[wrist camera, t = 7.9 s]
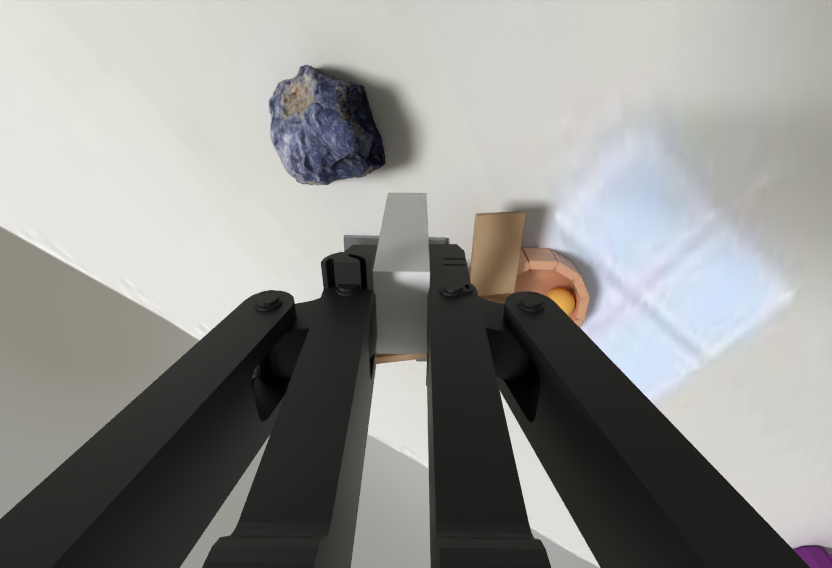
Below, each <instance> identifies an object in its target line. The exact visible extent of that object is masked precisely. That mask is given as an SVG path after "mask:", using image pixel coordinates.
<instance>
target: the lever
mask: <svg viewBox="0 0 832 568" xmlns="http://www.w3.org/2000/svg"><path fill="white" fill-rule="evenodd" d="M525 217H526V213H525V212H524V211H518V212H498V213H479V214H476V215H475V225H474V236H473V247H472V257H471V268H470V282H471V284H472V285H474V286H475V288H476V289H477V292H478V296H480V297H481V298H483V299H486V300H488V301H492V302H497V303H502V304H505V301H506V298H507V297H508V296H509V295H511V294H510V293H514V289H515V283H516V276H517V269H518V263H519V256H520V250H521V243H522V237H523V230H524V223H525ZM375 356H376V364H380V363H388V362H397V361H406V360H414V359H423V358H427V354H377V351H376V349H375Z"/></svg>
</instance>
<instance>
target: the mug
mask: <svg viewBox="0 0 832 568" xmlns="http://www.w3.org/2000/svg"><path fill="white" fill-rule="evenodd" d="M793 550H794V551H795V552H796V553H797V554H798V555H799V556H800V557H801V558H802V559H803V560H804V561H805V563H806V564H807V565H808V566H809V567H810V568H832V555H831V554H828V553H827V552H826V551H825V550H823V549H822V548H820V547H818V546H804V547H799V548H796V549H793Z"/></svg>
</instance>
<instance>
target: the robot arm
mask: <svg viewBox="0 0 832 568" xmlns="http://www.w3.org/2000/svg"><path fill="white" fill-rule="evenodd" d="M321 268H322V277H323V286H324V290H323V293H322V296H321V298H319V299H316V300H313V301H308V302H303V303H297V304H295V303H294V298H293V296H292V295H291V294H289V293H287V292H283V291H274V290H269V291H263V292H260V293H258V294H255V295H252V296H251V297H249V298H248V299H246V300H245V301H244V302H243V303H241V304H240V305H239V306H238V307H237V308H236V309H235V310H234V311H232V312H231V313H230V314H229V315H228V316H227V317H226V318H225V319H224V320H222V321H221V322H220V323H219V324H218V325H217V326H216V327H215V328H213V329H212V330H211V331H210V332H209V333H208V334H207V335H206V336H205V337H203V338H202V339H201V340H200V341H199V342H198V343H197V344H196V345H194V346H193V347H192V348H191V349H190V350H189V351H188V352H187V353H186V354H184V355H183V356H182V357H181V358H180V359H179V360H178V361H177V362H175V363H174V364H173V365H172V366H171V367H170V368H169V369H168V370H167V371H165V372H164V373H163V374H162V375H161V376H160V377H159V378H158V379H157V380H155V381H154V382H153V383H152V384H151V385H150V386H149V387H148V388H146V389H145V390H144V391H143V392H142V393H141V394H140V395H139V396H138V397H136V398H135V399H134V400H133V401H132V402H131V403H130V404H129V405H127V406H126V407H125V408H124V409H123V410H122V411H121V412H120V413H119V414H117V415H116V416H115V417H114V418H113V419H112V420H111V421H110V422H108V423H107V424H106V425H105V426H104V427H103V428H102V429H101V430H99V431H98V432H97V433H96V434H95V435H94V436H93V437H92V438H90V439H89V440H88V441H87V442H86V443H85V444H84V445H83V446H82V447H81V448H79V449H78V450H77V451H76V452H75V453H74V454H73V455H72V456H70V457H69V458H68V459H67V460H66V461H65V462H64V463H63V464H61V465H60V466H59V467H58V468H57V469H56V470H55V471H54V472H52V473H51V474H50V475H49V476H48V477H47V478H46V479H45V480H44V481H43V482H41V483H40V484H39V485H38V486H37V487H36V488H35V489H33V490H32V491H31V492H30V493H29V494H28V495H27V496H26V497H25V498H23V499H22V500H21V501H20V502H19V503H18V504H17V505H16V506H15V507H13V508H12V509H11V510H10V511H9V512H8V513H7V514H6V515H4V516H3V517H2V518H1V519H0V568H180V566H181V565H182V563H183V562H184V560H185V559H186V557H187V556H188V554H189V553H190V552H191V550H192V549H193V547H194V546H195V544H196V543H197V541H198V540H199V538H200V537H201V535H202V534H203V532H204V531H205V529H206V528H207V526H208V525H209V524H210V522H211V521H212V519H213V517H214V516H215V515H216V513H217V512H218V510H219V509H220V507H221V506H222V504H223V503H224V501H225V500H226V499H227V497H228V496H229V494H230V492H231V491H232V490H233V488H234V487H235V485H236V484H237V482H238V481H239V479H240V478H241V476H242V475H243V473H244V472H245V471H246V469H247V467H248V466H249V465H250V463H251V462H252V460H253V459H254V457H255V456H256V454H257V453H258V451H259V450H260V448H261V447H262V446H263V444H264V442H265V441H266V439H267V438H268V437H269V435H270V437H269V440H268V443H267V445H266V448H265V451H264V454H263V456H262V459H261V462H260V465H259V467H258V470H257V473H256V475H255V478H254V481H253V484H252V486H251V489H250V492H249V494H248V497H247V500H246V503H245V505H244V508H243V511H242V513H241V517H240V519H239V522H238V524H237V526H236V528H235V530H234V532H233V533H232V534H231V535H230V536H226V537H220V538H219V539H218V541H217V542H216V543H215V544H214V545H213V546H212V548H211V550H210V552H209V554H208V556H207V558H206V560H205V562H204V565H203V567H202V568H350V567H351V560H352V552H353V544H354V536H355V528H356V519H357V512H358V503H359V496H360V488H361V479H362V472H363V464H364V456H365V448H366V440H367V432H368V424H369V416H370V408H371V400H372V393H373V385H374V377H375V369H376V356H375V349H376V351H377V354H427V376H426V386H427V403H428V454H429V502H430V503H429V504H430V554H431V568H551V565H550V562H549V559H548V556H547V552H546V549H545V547H544V545H543V544H542V542H541V540H539V539H535V538H534V537H533V535H532V533H531V530H530V526H529V522H528V517H527V513H526V508H525V504H524V499H523V495H522V490H521V486H520V481H519V477H518V472H517V468H516V463H515V459H514V454H513V450H512V445H511V441H510V436H509V432H508V427H507V423H506V418H505V414H504V409H503V405H502V400H501V396H500V391H501V393H502V395H503V397H504V399H505V400H506V402H507V404H508V406H509V407H510V409H511V411H512V413H513V414H514V416H515V418H516V420H517V421H518V423H519V425H520V427H521V428H522V430H523V432H524V434H525V435H526V437H527V439H528V441H529V442H530V444H531V446H532V448H533V450H534V451H535V453H536V455H537V457H538V458H539V460H540V462H541V464H542V465H543V467H544V469H545V471H546V472H547V474H548V476H549V478H550V479H551V481H552V483H553V485H554V486H555V488H556V490H557V492H558V493H559V495H560V497H561V499H562V501H563V502H564V504H565V506H566V508H567V509H568V511H569V513H570V515H571V516H572V518H573V520H574V522H575V523H576V525H577V527H578V529H579V530H580V532H581V534H582V536H583V537H584V539H585V541H586V543H587V544H588V546H589V548H590V550H591V551H592V553H593V555H594V557H595V559H596V560H597V562H598V564H599V566H600V567H601V568H810V567H809V566H808V565H807V564H806V563H805V561H804V560H803V559H802V558H801V557H800V556H799V555H798V554H797V553H796V552H795V551H794V550H793V549H792V548H791V547H790V546H789V545H788V544H787V543H786V542H785V541H784V540H783V539H782V538H781V537H780V535H779V534H778V533H777V532H776V531H775V530H774V529H773V528H772V527H771V526H770V525H769V524H768V523H767V522H766V521H765V520H764V519H763V518H762V517H761V516H760V515H759V514H758V513H757V512H756V511H755V509H754V508H753V507H752V506H751V505H750V504H749V503H748V502H747V501H746V500H745V499H744V498H743V497H742V496H741V495H740V494H739V493H738V492H737V491H736V490H735V489H734V488H733V487H732V486H731V485H730V483H729V482H728V481H727V480H726V479H725V478H724V477H723V476H722V475H721V474H720V473H719V472H718V471H717V470H716V469H715V468H714V467H713V466H712V465H711V464H710V463H709V462H708V461H707V460H706V458H705V457H704V456H703V455H702V454H701V453H700V452H699V451H698V450H697V449H696V448H695V447H694V446H693V445H692V444H691V443H690V442H689V441H688V440H687V439H686V438H685V437H684V436H683V435H682V434H681V432H680V431H679V430H678V429H677V428H676V427H675V426H674V425H673V424H672V423H671V422H670V421H669V420H668V419H667V418H666V417H665V416H664V415H663V414H662V413H661V412H660V411H659V410H658V409H657V408H656V406H655V405H654V404H653V403H652V402H651V401H650V400H649V399H648V398H647V397H646V396H645V395H644V394H643V393H642V392H641V391H640V390H639V389H638V388H637V387H636V386H635V385H634V384H633V383H632V382H631V380H630V379H629V378H628V377H627V376H626V375H625V374H624V373H623V372H622V371H621V370H620V369H619V368H618V367H617V366H616V365H615V364H614V363H613V362H612V361H611V360H610V359H609V358H608V357H607V356H606V354H605V353H604V352H603V351H602V350H601V349H600V348H599V347H598V346H597V345H596V344H595V343H594V342H593V341H592V340H591V339H590V338H589V337H588V336H587V335H586V334H585V333H584V332H583V331H582V330H581V328H580V327H579V326H578V325H577V324H576V323H575V322H574V321H573V320H572V319H571V318H570V317H569V316H568V315H567V314H566V313H565V312H564V311H563V310H562V309H561V308H560V307H559V306H558V305H557V304H556V302H555V301H553V300H552V299H551V298H549V297H548V296H545V295H543V294H540V293H537V292H532V291H525V292H516V293H512V294H511V295H509V296H508V297H507V298H506V301H505V304H502V303H497V302H492V301H488V300H486V299H483V298H481V297H480V296H478V292H477V289H476V288H475V286H474V285H472V284H471V282H470V277H469V273H468V268H467V263H466V258H465V253H464V250H462V249H461V248H460V247H459V246H458V245H457V244H429V241H428V220H427V198H426V193H388V196H387V201H386V206H385V211H384V216H383V221H382V227H381V232H380V237H379V242H378V245H352V246H351V247H349V248H348V249H347V250H346V251H345V252H339V253H335V254H331V255H329V256H327V257H325V258H324V259H323V260H322V261H321ZM499 390H500V391H499Z"/></svg>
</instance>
